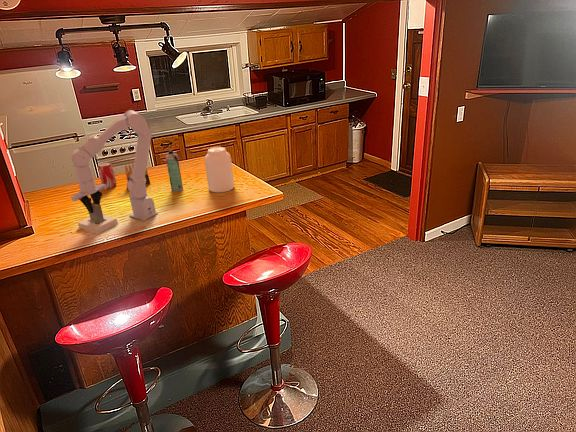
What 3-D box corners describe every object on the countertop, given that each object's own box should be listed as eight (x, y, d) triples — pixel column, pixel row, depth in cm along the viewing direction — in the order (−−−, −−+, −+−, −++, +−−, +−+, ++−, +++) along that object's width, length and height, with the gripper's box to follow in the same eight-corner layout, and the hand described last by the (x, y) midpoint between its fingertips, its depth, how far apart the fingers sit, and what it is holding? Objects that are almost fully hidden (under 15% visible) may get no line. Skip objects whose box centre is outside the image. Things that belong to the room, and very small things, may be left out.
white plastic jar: (237, 190, 205) (232, 150, 196) (211, 195, 201) (206, 154, 192) (230, 181, 215) (226, 143, 207) (206, 186, 212) (200, 147, 203)
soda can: (114, 188, 215) (108, 166, 209) (100, 189, 215) (94, 166, 210) (119, 183, 221) (114, 161, 216) (106, 184, 221) (100, 162, 216)
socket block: (117, 223, 178) (116, 218, 177) (97, 234, 170) (95, 228, 169) (99, 218, 184) (98, 213, 183) (79, 227, 176) (77, 222, 175)
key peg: (96, 217, 178) (92, 201, 174) (104, 220, 175) (100, 204, 172) (90, 219, 176) (86, 204, 172) (98, 222, 173) (94, 207, 170)
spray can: (184, 187, 211) (178, 148, 203) (180, 191, 207) (174, 152, 198) (173, 187, 212) (166, 148, 203) (170, 191, 207) (162, 152, 198)
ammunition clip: (128, 187, 215) (123, 165, 210) (128, 186, 216) (123, 164, 211) (150, 183, 219) (145, 161, 214) (149, 182, 220) (145, 160, 215)
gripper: (95, 172, 175) (103, 202, 181) (63, 184, 164) (72, 215, 170) (106, 175, 172) (113, 205, 178) (73, 187, 161) (83, 219, 167)
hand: (94, 210), depth 174 cm, fingers closed on key peg, 3 cm apart
